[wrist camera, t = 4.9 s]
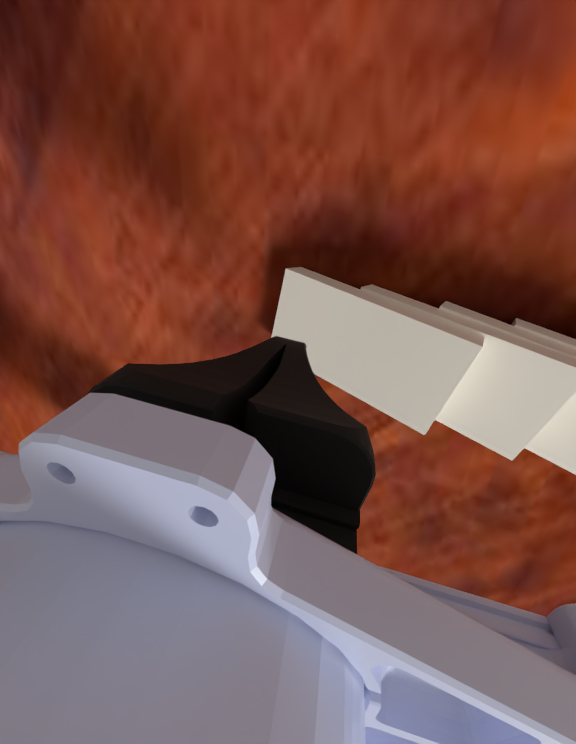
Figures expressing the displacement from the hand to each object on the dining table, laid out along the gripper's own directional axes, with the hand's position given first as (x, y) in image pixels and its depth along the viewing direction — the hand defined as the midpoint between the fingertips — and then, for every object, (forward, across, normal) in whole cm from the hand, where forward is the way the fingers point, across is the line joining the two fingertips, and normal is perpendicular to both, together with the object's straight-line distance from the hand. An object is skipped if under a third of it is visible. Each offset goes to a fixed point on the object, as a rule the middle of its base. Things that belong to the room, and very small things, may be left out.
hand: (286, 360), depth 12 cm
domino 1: (+6, +1, 0) cm, 6 cm away
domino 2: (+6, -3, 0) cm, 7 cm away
